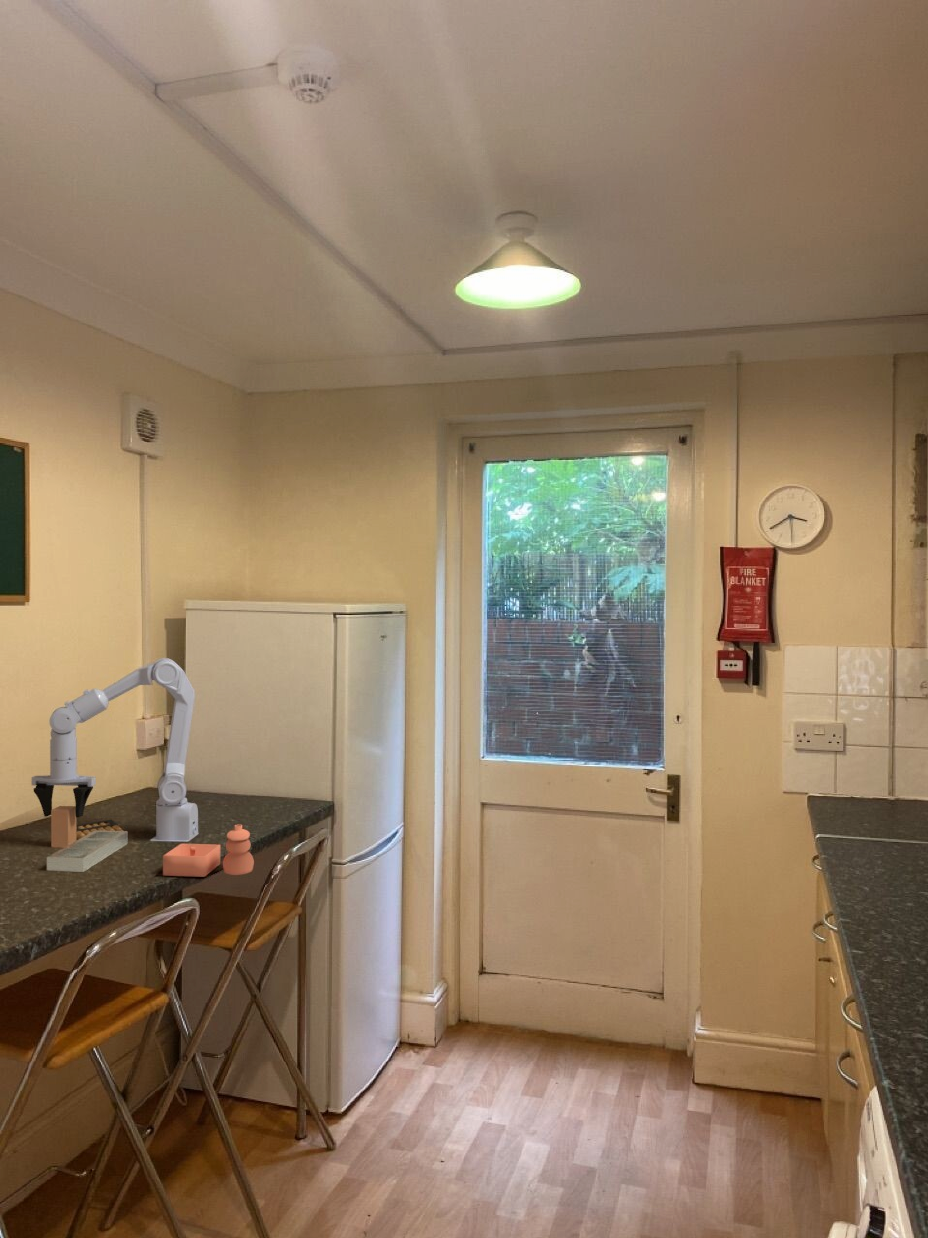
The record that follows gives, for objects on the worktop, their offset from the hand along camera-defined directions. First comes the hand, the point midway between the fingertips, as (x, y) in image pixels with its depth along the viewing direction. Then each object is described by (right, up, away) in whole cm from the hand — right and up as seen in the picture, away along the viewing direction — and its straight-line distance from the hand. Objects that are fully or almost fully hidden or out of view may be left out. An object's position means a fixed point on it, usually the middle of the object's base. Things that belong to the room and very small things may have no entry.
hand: (63, 816), depth 212 cm
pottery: (+40, -8, -17) cm, 44 cm away
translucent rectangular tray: (+10, -7, -8) cm, 15 cm away
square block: (0, -7, 0) cm, 7 cm away
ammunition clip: (0, -6, +14) cm, 15 cm away
